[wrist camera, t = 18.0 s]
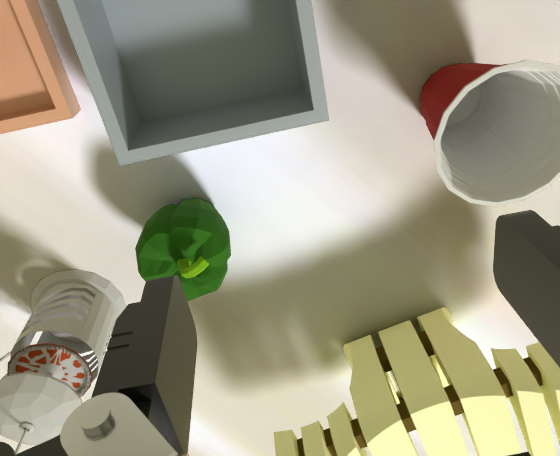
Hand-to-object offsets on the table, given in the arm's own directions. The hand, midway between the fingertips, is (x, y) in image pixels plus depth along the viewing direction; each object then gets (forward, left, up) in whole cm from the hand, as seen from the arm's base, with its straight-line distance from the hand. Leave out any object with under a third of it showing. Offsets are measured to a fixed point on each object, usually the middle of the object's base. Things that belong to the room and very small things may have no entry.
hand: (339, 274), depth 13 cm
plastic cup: (+7, +16, -34) cm, 38 cm away
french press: (+21, -25, -34) cm, 47 cm away
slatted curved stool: (+38, +10, -34) cm, 52 cm away
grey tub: (-4, -4, -34) cm, 34 cm away
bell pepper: (+14, -10, -34) cm, 38 cm away
